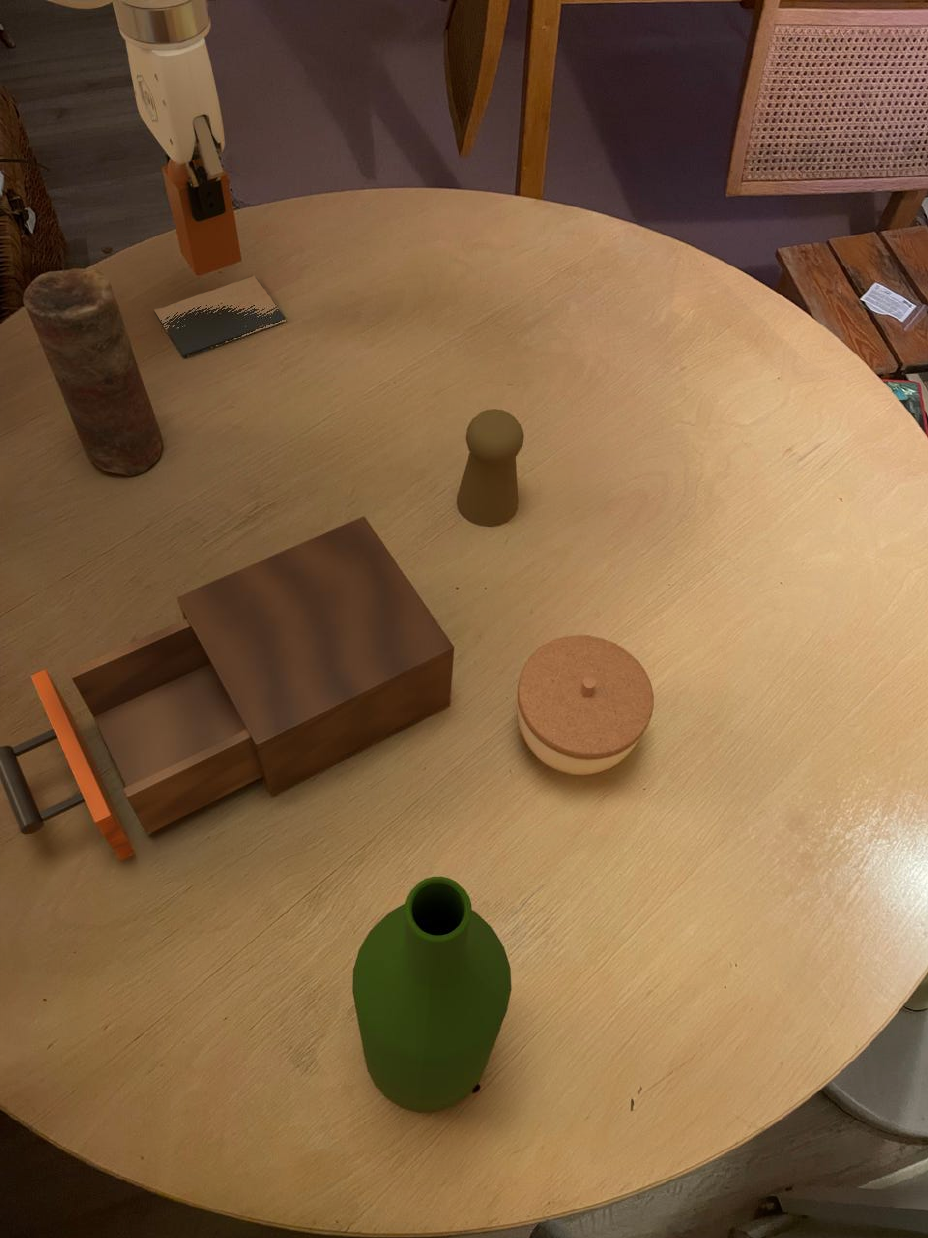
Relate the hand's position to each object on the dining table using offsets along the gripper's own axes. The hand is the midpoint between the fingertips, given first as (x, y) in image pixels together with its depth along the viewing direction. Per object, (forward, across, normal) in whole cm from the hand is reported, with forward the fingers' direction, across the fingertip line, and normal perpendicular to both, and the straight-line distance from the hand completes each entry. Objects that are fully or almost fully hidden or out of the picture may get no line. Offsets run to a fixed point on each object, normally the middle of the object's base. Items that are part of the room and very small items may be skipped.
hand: (199, 200), depth 101 cm
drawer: (+13, +46, -26) cm, 55 cm away
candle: (+15, +13, -16) cm, 25 cm away
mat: (+14, 0, 0) cm, 14 cm away
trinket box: (+15, +61, +5) cm, 63 cm away
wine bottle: (+15, +76, -18) cm, 80 cm away
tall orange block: (+7, 0, 0) cm, 7 cm away
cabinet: (+14, +46, -11) cm, 49 cm away
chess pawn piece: (+15, +36, +12) cm, 41 cm away
